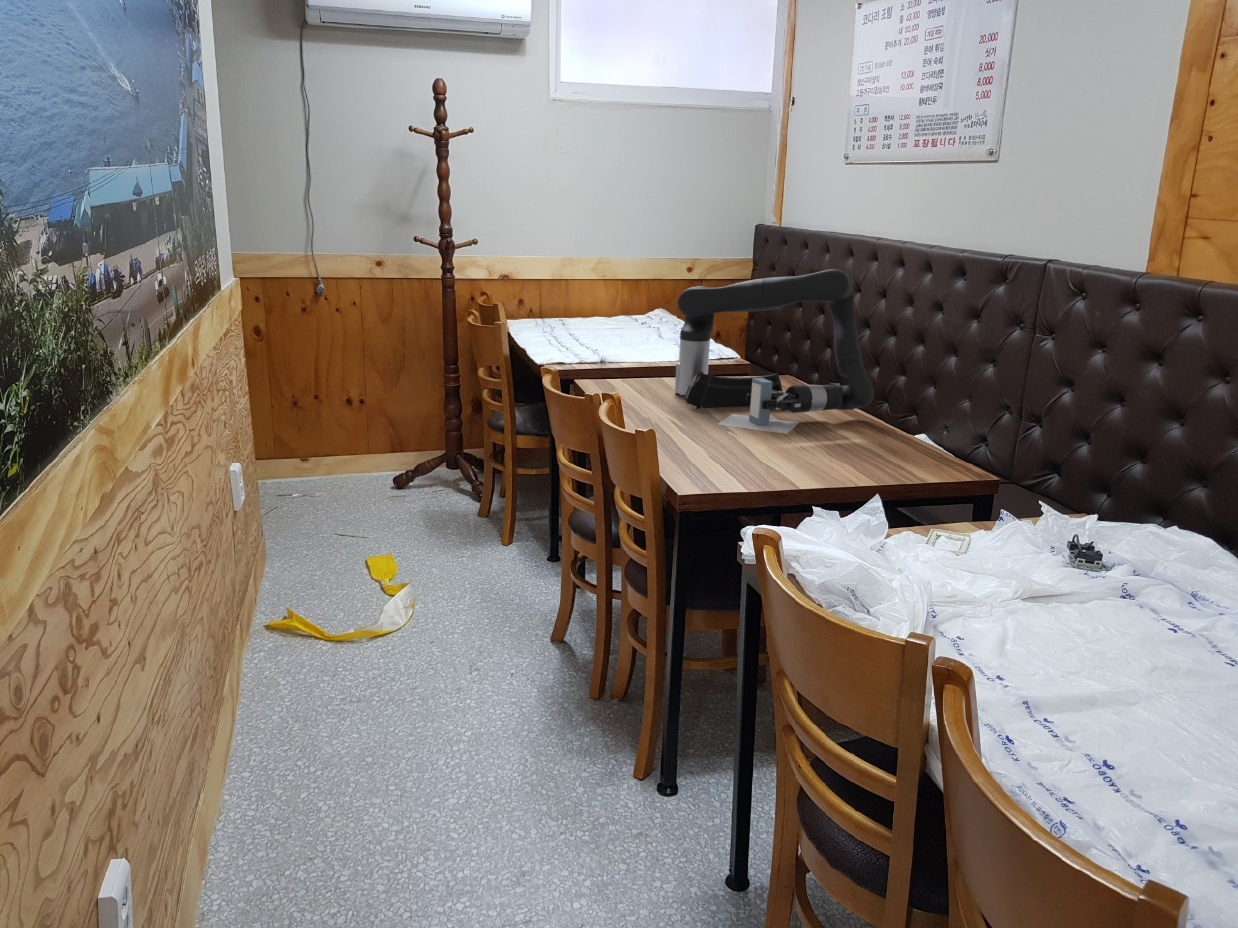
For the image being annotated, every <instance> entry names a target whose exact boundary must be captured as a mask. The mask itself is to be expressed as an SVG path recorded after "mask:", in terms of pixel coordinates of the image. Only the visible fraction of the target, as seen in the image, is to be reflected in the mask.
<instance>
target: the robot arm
mask: <svg viewBox="0 0 1238 928" xmlns="http://www.w3.org/2000/svg"><path fill="white" fill-rule="evenodd" d="M854 292H855V291H854V281H853V280H852V277H851V276H850V275H849V274H848V273H847V272H844V271H843V270H841V269H837V268H831V269H826V270H825V269H824V270H822V271H817V272H813V273H809V274H808V273H807V274H804V275H803V274H802V275H797V276H795V275H794V276H777V277H776V276H774V277H764V278H757V279H750V280H746V281H741V282H736V283H734V284H730V285H726V286H720V287H706V286H704V285H697V286H692V287H689V288H686V289H685V290H684V291H683V292H681V293H680V295H679V297H678V298H677V299H678V300H677V307H678V310H679V311H680V313H681V314H682V315H684V316H685V319H684V324H683V326H682V328H681V329H680V333H679V334H680V335H679V352H678V362H676V365H675V383H674V386H675V387H674V394H675V393H678V394H677V395H679V394H680V396H683V395H684V396H683V397H685V396H686V393H687V390H688V387H689V385H691V383H692V381H693V379H694V377H695V375H697V376H698V374H699V372H700V371H701V372H703V374H709V359H710V346H711V335H712V331H713V328H714V320H715V314H717V313H718V314H719V313H728V312H729V313H731V312H733V313H734V312H735V313H740V312H741V313H745V312H759V311H763V312H764V311H771V310H772V311H773V310H776V309H781V308H785V307H787V306H789V305H792V304H797V303H802V302H827V305H828V308H829V312H830V314H831V319H832V322H833V323H832V324H833V349H834V355H835V361H836V366H837V371H838V373H839V375H840V376H841V377H846V378H847V379H848V382H849V384H847V385H840V386H838V385H835V384H798V385H790V386H789V387H788V388H787V389H786V390H785V392H784V391H783V390H782V391H783V392H782V391H778V392H777V391H776V390H772V394H771V400H766V401H762V409H770V410H773V409H774V410H778V411H779V410H780V411H781V412H786V411H787V412H790V413H791V414H799V413H800V414H801V413H813V412H819V411H832V410H837V411H850V410H856V409H859V408H864V407H867V406H869V405H870V404H872V402H873V399H874V395H875V391H874V385H873V384H872V381H871V380H870V376H869V374H868V372H867V371H866V369H865V366H864V361H863V356H862V350H861V346H860V340H859V336H858V330H857V325H856V317H855V304H854V303H855V302H854V298H855V295H854ZM697 376H696V377H697ZM746 401H747V402H751V394H747V395H746Z"/></svg>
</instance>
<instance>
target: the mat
mask: <svg viewBox="0 0 1238 928" xmlns="http://www.w3.org/2000/svg"><path fill="white" fill-rule="evenodd" d="M799 423H800V422H799V421H791V420H783V419H774V418H769V426H758V425H755V424H753V423H751V422H749V415H743V414H735V413H732V414H731V415H729V416H727V417H726V418H725V419H723V420H722V421H720V422H719V423H718V424H717V425H719V426H726V427H732V428H733V427H734V428H741V429H748V430H749V429H750V430H754V431H762V432H768V433H769V432H770V433H778V434H784V435H785V434H786V435H788V434H789V433H790V432H791V431H793V429H794V428H795V427H796V426H797V425H799Z"/></svg>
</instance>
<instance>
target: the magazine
mask: <svg viewBox="0 0 1238 928" xmlns="http://www.w3.org/2000/svg"><path fill="white" fill-rule="evenodd" d="M696 376H697V375H695V377H694V379H693V381H692V383H691V385H689V387H688V390H687V393H686V396H684V400H685V402H686V403H687V404H688V405H692V406H695V407H696V408H695V409H696V410H699V409H700V408H703V409H714V408H715V409H716V408H717V409H718V408H736V407H737V408H739V407H742V408H743V407H745V408H746V407H750V402H747V401H746V395H747V394H751V389H752V378H764V379H766V380H769V381H772V390H776V391H777V392H778V391H782V392H784V391H783V386H782V382H781V378H780V375H779V373H778V372H774V373H771V374H768V375H767V374H766V375H764V376H763V375H762V376H754V377H753V376H752V377H751V376H750V377H749V376H748V377H729V376H728V377H724V376H720V375H718V376H717V375H713V374H712V375H711V374H709V373H708V374H703V372H701V371H700V372H699V374H698V376H697V377H696Z"/></svg>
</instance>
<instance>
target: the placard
mask: <svg viewBox="0 0 1238 928" xmlns="http://www.w3.org/2000/svg"><path fill="white" fill-rule="evenodd" d="M771 394H772V381H769V380H766V379H764V378H752V389H751V402H750V406H749V414H748V416H749V422H751V423H753V424H755V425H758V426H769V419H771V418H770V417H771V409H762V401H766V400H771Z"/></svg>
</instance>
